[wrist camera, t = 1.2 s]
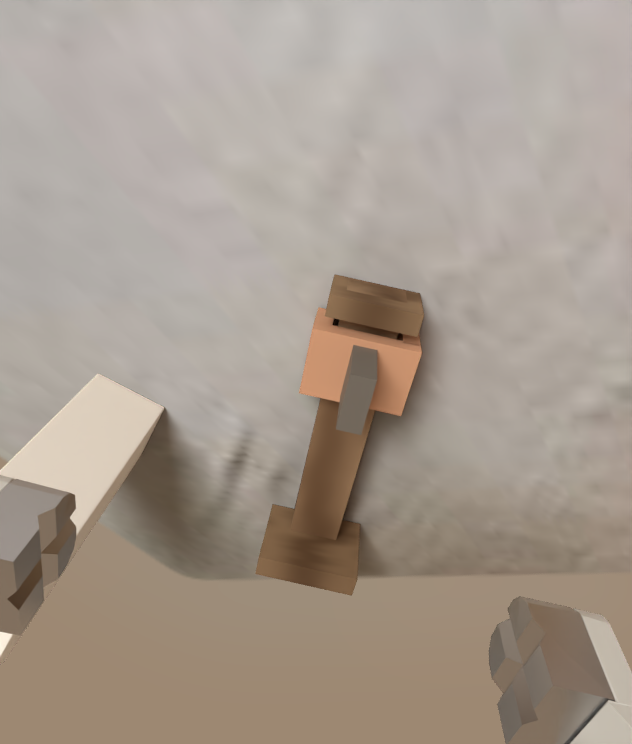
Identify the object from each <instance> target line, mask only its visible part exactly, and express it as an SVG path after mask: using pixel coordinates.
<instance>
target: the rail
mask: <svg viewBox="0 0 632 744" xmlns="http://www.w3.org/2000/svg"><path fill="white" fill-rule="evenodd" d="M325 316H326V317H330V318H335V319H339V322H338V326H339V327H343V328H348V329H352V330H357V331H361V332H365V333H370V334H374V335H379V336H383V337H388V338H392V339H397V336H398V333H401V334H406V335H410V336H415V337H418V333H419V330H420V327H421V324H422V321H423V318H424V312H423V307H422V301H421V296H420V293H415V292H411V291H406V290H402V289H398V288H393V287H389V286H384V285H380V284H375V283H371V282H366V281H362V280H357V279H353V278H348V277H344V276H339V275H334V279H333V283H332V287H331V291H330V295H329V299H328V304H327V308H326V313H325ZM338 409H339V402H336V401H332V400H327V399H323V398H321V399H320V403H319V407H318V411H317V416H316V420H315V424H314V428H313V433H312V437H311V441H310V445H309V450H308V454H307V458H306V463H305V467H304V471H303V475H302V480H301V484H300V488H299V492H298V497H297V501H296V505H295V509H292V508H287V507H283V506H278V505H274V504H273V505H272V509H271V513H270V517H269V521H268V524H267V528H266V532H265V536H264V540H263V543H262V547H261V551H260V555H259V559H258V564H257V569H256V574H259V575H263V576H267V577H272V578H276V579H281V580H285V581H290V582H294V583H298V584H303V585H307V586H312V587H316V588H320V589H325V590H330V591H334V592H338V593H343V594H347V595H352V593H353V590H354V587H355V585H356V582H357V576H358V555H359V534H360V524H358V523H354V522H349V521H345V520H342V519H343V516H344V512H345V509H346V506H347V502H348V499H349V496H350V492H351V489H352V486H353V482H354V479H355V476H356V472H357V469H358V466H359V462H360V459H361V456H362V452H363V449H364V446H365V442H366V439H367V436H368V433H369V429H370V426H371V423H372V419H373V416H374V413H375V410H372V409H369V410H368V413H367V417H366V420H365V423H364V427H363V430H362V434H361V435H358V434H354V433H349V432H345V431H340V430H336V424H337V416H338Z"/></svg>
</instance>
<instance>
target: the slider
mask: <svg viewBox="0 0 632 744" xmlns="http://www.w3.org/2000/svg"><path fill="white" fill-rule="evenodd" d="M325 313H326V309H324V308H318V311H317V315H316V318H315V322H314V325H313V329H312V334H311V338H310V343H309V348H308V353H307V358H306V362H305V367H304V372H303V377H302V382H301V386H300V391H299V393H301V394H305V395H310V396H314V397H318V398H323V399H327V400H332V401H336V402H339V409H338V416H337V424H336V430H340V431H345V432H349V433H354V434H358V435H361V434H362V430H363V427H364V423H365V420H366V417H367V413H368V410H369V409H372V410H376V411H381V412H385V413H390V414H394V415H398V416H401V414H402V411H403V408H404V405H405V402H406V399H407V396H408V393H409V390H410V387H411V384H412V381H413V378H414V375H415V372H416V369H417V366H418V363H419V360H420V357H421V354H422V350H421V343H420V337H419V333H418V337H415V336H410V335H406V334H401V333H399V337H398V340H397V339H392V338H388V337H383V336H379V335H374V334H370V333H365V332H361V331H357V330H352V329H348V328H343V327H339V326H334V325H332V324H333V320H334V318H330V317H326V316H325Z"/></svg>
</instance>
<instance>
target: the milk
mask: <svg viewBox="0 0 632 744" xmlns="http://www.w3.org/2000/svg"><path fill="white" fill-rule="evenodd" d="M163 410H164V407H163V406H161V405H159V404H157V403H155V402H153V401H151V400H149V399H147V398H145V397H143V396H142V395H140V394H138V393H136V392H134V391H132V390H130V389H128V388H126V387H124V386H122V385H120V384H118V383H116V382H114V381H112V380H110V379H109V378H107V377H105V376H103V375H101V374H97V375H96V376H95V377H94V378H93V379H92V380H91V381H90V382H89V383H88V384H87V385H86V386H85V387H84V388H83V389H82V390H81V391H80V392H79V393H78V394H77V395H76V396H75V397H74V398H73V399H72V400H71V401H70V402H69V403H68V404H67V405H66V406H65V407H64V408H63V409H62V410H60V411H59V412H58V413H57V414H56V415H55V416H54V417H53V418H52V419H51V420H50V421H49V422H48V423H47V424H46V425H45V426H44V427H43V428H42V429H41V430H40V431H39V432H38V433H37V434H36V435H35V436H34V437H33V438H32V439H31V440H30V441H29V442H28V443H27V444H26V445H25V446H24V447H23V448H22V449H21V450H20V451H19V452H18V453H17V454H16V455H15V456H14V457H13V458H12V459H11V460H10V461H9V462H8V463H7V464H6V465H5V466H4V467H3V468H2V469H1V470H0V475H2V476H6V477H10V478H14V479H19V480H23V481H27V482H31V483H35V484H39V485H43V486H46V487H50V488H54V489H58V490H62V491H66V492H70V493H72V494H74V495H75V501H76V509H75V511H74V512H73V514H72V515H71V516H70V519H71V520H72V522H73V523H74V524H75V525H76V541H75V546H74V550H73V552H72V554H71V557H70V559H69V562H68V564H67V566H68V565H69V563H70V562H71V560H72V559H73V557H74V556H75V554H76V553H77V551H78V550H79V548H80V547H81V545H82V544H83V542H84V541H85V539H86V538H87V536H88V535H89V533H90V532H91V530H92V529H93V527H94V526H95V524H96V523H97V521H98V520H99V518H100V517H101V515H102V514H103V512H104V511H105V509H106V508H107V506H108V505H109V503H110V502H111V500H112V498H113V497H114V495H115V494H116V492H117V491H118V489H119V488H120V486H121V485H122V483H123V482H124V480H125V479H126V477H127V476H128V474H129V473H130V471H131V470H132V468H133V467H134V465H135V464H136V462H137V461H138V459H139V458H140V456H141V454H142V452H143V450H144V448H145V446H146V444H147V442H148V440H149V438H150V436H151V434H152V432H153V430H154V428H155V426H156V424H157V422H158V420H159V418H160V416H161V414H162V412H163ZM67 566H66V568H67ZM66 568H65V569H66ZM65 569H64V571H65ZM64 571H63V572H62V574H63V573H64ZM62 574H61V576H62ZM61 576H60V577H61ZM60 577H59V579H60ZM59 579H57V580H56V581H54V582H52V583H50V584H48V585H47V586H45V587H43V589H44V601H45V600H46V598H47V597H48V595H49V593H50V592H51V591H52V589H53V587H54V586H55V585H56V583H57V582H58V580H59ZM43 603H44V602H43ZM43 603H42V604H43ZM41 606H42V605H41ZM41 606H40V607H41ZM39 609H40V608H39ZM39 609H38V610H39ZM37 612H38V611H37ZM35 615H36V614H35ZM33 618H34V617H33ZM31 621H32V620H31ZM29 624H30V623H29ZM28 626H29V625H28ZM28 626H27V627H28ZM26 629H27V628H26ZM26 629H25V630H26ZM23 633H24V632H23ZM22 635H23V634H22ZM22 635H21V636H22ZM21 636H19V635H14V634H9V633H4V632H0V665H1V664H2V663H4V662H5V660H6V659H7V657H8V656H9V654H10V653H11V651H12V650H13V648H14V646H15V645H16V644H17V642H18V641H19V639H20V638H21Z"/></svg>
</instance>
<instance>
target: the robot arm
mask: <svg viewBox="0 0 632 744" xmlns="http://www.w3.org/2000/svg"><path fill="white" fill-rule="evenodd" d="M75 509H76V501H75V495H74V494H72V493H70V492H66V491H62V490H58V489H54V488H50V487H46V486H43V485H39V484H35V483H31V482H27V481H23V480H19V479H14V478H10V477H6V476H2V475H0V632H4V633H9V634H14V635H19V636H21V635H22V634H23V632H24V631H25V629H26V628H27V626H28V625H29V623H30V622H31V620H32V619H33V617H34V616H35V614H36V613H37V611H38V609H39V608H40V606H41V605H42V603H43V602H44V589H43V587H45V586H47V585H48V584H50V583H52V582H54V581H56V580H57V579H59V577H60V576H61V574H62V572H63V571H64V569H65V568H66V566H67V564H68V562H69V559H70V557H71V554H72V552H73V550H74V546H75V541H76V525H75V524H74V523H73V522H72V520H71V519H70V516H71V515H72V514H73V512H74V511H75ZM508 612H509V615H510V619H508V620H506V621H504V622H501V623H499V624H498V625H497V627H496V629H495V631H494V633H493V634H492V636H491V642H490V648H489V665H490V670H491V675H492V679H493V680H494V682H495V683H496V684H497V685H498V687H499V688H500V690H501V691H502V692H503V695H502V697H501V698H500V700H499V702H498V710H499V714H500V719H501V724H502V729H503V733H504V738H505V743H506V744H632V672H631V670H630V667H629V665H628V663H627V661H626V658H625V657H624V654H623V652H622V650H621V648H620V645H619V643H618V641H617V639H616V637H615V634H614V632H613V630H612V628H611V626H610V624H609V622H608V621H607V619H606V618H604V616H603V615H600V614H596V613H591V612H587V611H582V610H578V609H572V608H570V607H566V606H562V605H557V604H552V603H548V602H543V601H539V600H534V599H530V598H525V597H518V598H516V599H514V600H513V601H512V603H511V604H510V606H509V607H508Z"/></svg>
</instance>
